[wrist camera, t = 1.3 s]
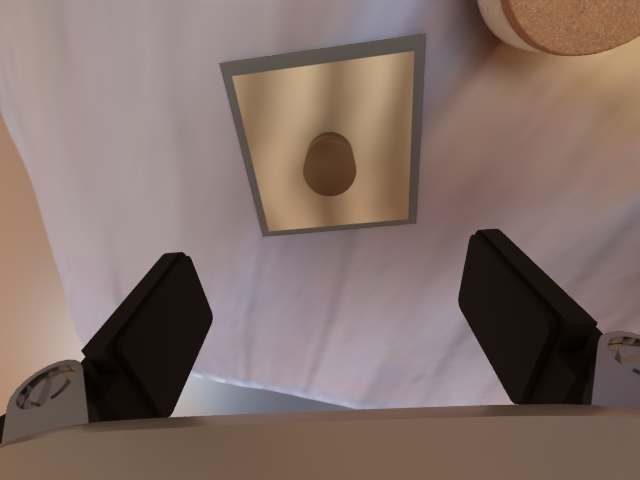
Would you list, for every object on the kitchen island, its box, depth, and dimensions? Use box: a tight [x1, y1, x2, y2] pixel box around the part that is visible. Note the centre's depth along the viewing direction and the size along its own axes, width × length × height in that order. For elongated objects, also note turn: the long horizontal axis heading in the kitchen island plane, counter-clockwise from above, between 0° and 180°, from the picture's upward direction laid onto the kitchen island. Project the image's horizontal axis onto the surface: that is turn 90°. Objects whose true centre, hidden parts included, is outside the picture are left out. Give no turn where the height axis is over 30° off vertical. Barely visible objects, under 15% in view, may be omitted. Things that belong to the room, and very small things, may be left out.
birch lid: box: [232, 51, 414, 231], centre depth 24 cm, size 14×14×5 cm
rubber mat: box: [219, 34, 426, 237], centre depth 27 cm, size 16×16×1 cm
